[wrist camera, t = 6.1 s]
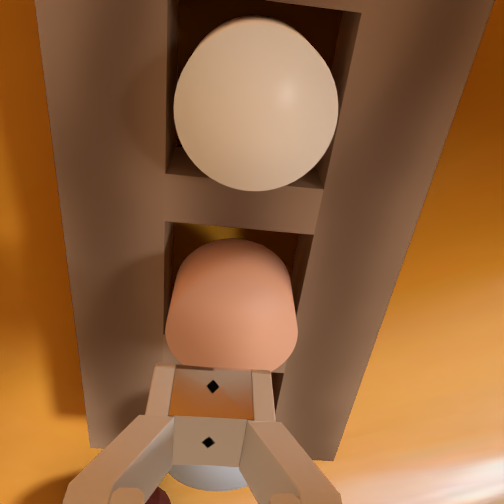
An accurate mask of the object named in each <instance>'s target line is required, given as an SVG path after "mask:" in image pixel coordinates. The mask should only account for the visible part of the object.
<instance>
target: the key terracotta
mask: <svg viewBox="0 0 504 504" xmlns="http://www.w3.org/2000/svg"><path fill="white" fill-rule="evenodd" d="M165 334H166V340H167V344H168V346H169V349H170V350H171V352H172V354H173V355H174V356H175V358H176V359H177V360H178V361H179V362H180V363H181V364H182V365H189V366H200V367H211V368H213V367H217V368H237V369H250V370H251V369H254V370H269V371H270V372H272V371H273V370H275V369H276V368H278V367H279V366H280V365H282V364H283V363H284V362H285V361H286V360H287V359H288V357H289V356H290V355H291V353H292V352H293V350H294V348H295V345H296V342H297V336H298V327H297V320H296V314H295V307H294V301H293V294H292V287H291V281H290V276H289V273H288V270H287V268H286V266H285V264H284V263H283V261H282V260H281V259H280V258H279V257H278V256H277V255H276V254H275V253H274V252H273V251H271V250H270V249H268V248H267V247H265V246H263V245H261V244H258V243H256V242H253V241H249V240H244V239H221V240H216V241H212V242H209V243H207V244H205V245H202V246H200V247H199V248H197V249H196V250H194V251H193V252H192V253H190V254H189V255H188V256H187V257H186V259H185V260H184V261H183V263H182V264H181V266H180V268H179V270H178V273H177V276H176V281H175V285H174V290H173V294H172V299H171V303H170V308H169V313H168V317H167V322H166V329H165Z"/></svg>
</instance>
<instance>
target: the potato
mask: <svg viewBox="0 0 504 504" xmlns="http://www.w3.org/2000/svg"><path fill="white" fill-rule="evenodd" d="M145 504H171V502H170V499H169V497H168V496H167V494H166V492H165V491H163V490H162V489H161V488H159V487H158V486H157V488H156V489H155V491H154V492H153V493H152V495H151V496H150V497H149V499H148V500H147V501H146V503H145Z"/></svg>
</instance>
